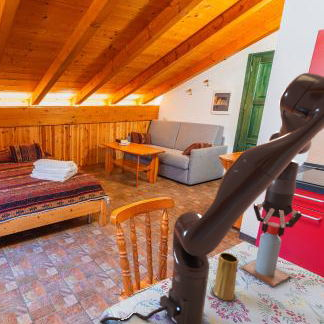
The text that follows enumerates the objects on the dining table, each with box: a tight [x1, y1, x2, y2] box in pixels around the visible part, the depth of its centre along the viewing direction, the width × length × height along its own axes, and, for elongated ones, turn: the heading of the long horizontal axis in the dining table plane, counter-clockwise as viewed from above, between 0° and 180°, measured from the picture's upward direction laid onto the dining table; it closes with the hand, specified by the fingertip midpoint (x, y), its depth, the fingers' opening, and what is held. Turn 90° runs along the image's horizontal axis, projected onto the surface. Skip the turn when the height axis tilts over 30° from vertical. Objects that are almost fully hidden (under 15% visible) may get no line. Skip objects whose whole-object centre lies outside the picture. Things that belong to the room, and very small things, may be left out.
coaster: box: [240, 260, 291, 287], centre depth 94 cm, size 11×11×1 cm
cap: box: [266, 221, 280, 235], centre depth 90 cm, size 4×4×3 cm
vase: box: [212, 252, 239, 301], centre depth 82 cm, size 6×6×14 cm
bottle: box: [255, 232, 282, 276], centre depth 92 cm, size 6×6×19 cm
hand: (271, 233), depth 90 cm, fingers closed on cap, 3 cm apart
